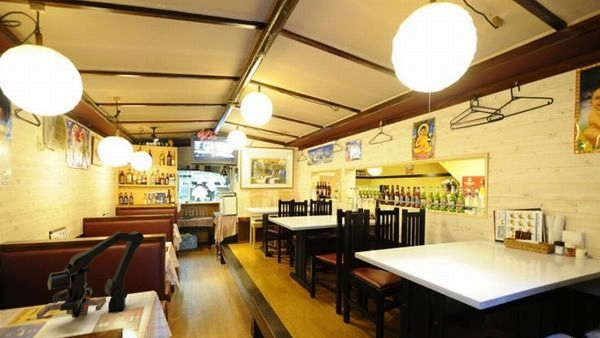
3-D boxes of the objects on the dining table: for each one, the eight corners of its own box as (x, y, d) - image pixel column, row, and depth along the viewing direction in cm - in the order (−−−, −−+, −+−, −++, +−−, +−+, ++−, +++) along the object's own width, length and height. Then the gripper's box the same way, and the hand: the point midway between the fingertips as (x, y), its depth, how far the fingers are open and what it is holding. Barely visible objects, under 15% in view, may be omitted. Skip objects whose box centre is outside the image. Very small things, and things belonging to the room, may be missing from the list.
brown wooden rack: (105, 301, 148) (106, 296, 148) (99, 310, 138) (99, 304, 138) (48, 308, 140) (48, 302, 140) (36, 318, 130) (36, 311, 130)
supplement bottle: (78, 317, 126) (82, 290, 130) (67, 318, 127) (71, 292, 131) (90, 315, 131) (93, 289, 136) (80, 316, 132) (83, 291, 136)
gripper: (65, 278, 132) (64, 311, 132) (45, 292, 115) (43, 330, 114) (93, 275, 136) (91, 307, 136) (77, 289, 119) (76, 326, 118)
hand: (76, 317), depth 126 cm, fingers closed
